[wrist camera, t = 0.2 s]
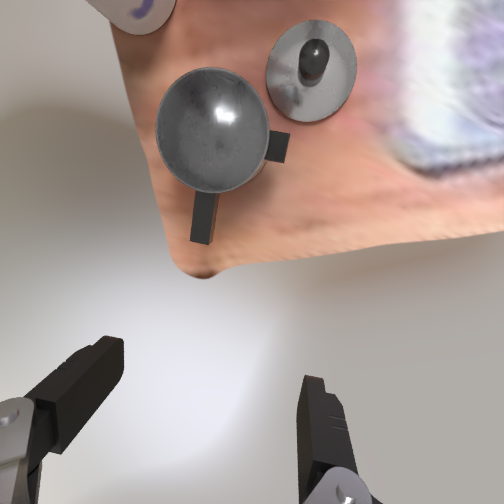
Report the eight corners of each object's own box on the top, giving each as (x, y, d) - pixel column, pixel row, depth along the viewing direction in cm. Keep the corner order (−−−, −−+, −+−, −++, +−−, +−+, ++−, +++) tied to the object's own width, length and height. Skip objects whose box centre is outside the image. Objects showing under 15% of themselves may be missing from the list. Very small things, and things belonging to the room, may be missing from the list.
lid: (276, 16, 32) (273, -16, 27) (366, 30, 31) (383, 1, 26) (259, 114, 35) (253, 103, 30) (341, 129, 35) (351, 121, 29)
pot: (184, 79, 35) (160, 57, 28) (298, 99, 34) (300, 81, 27) (170, 223, 40) (147, 234, 34) (268, 244, 40) (263, 259, 33)
